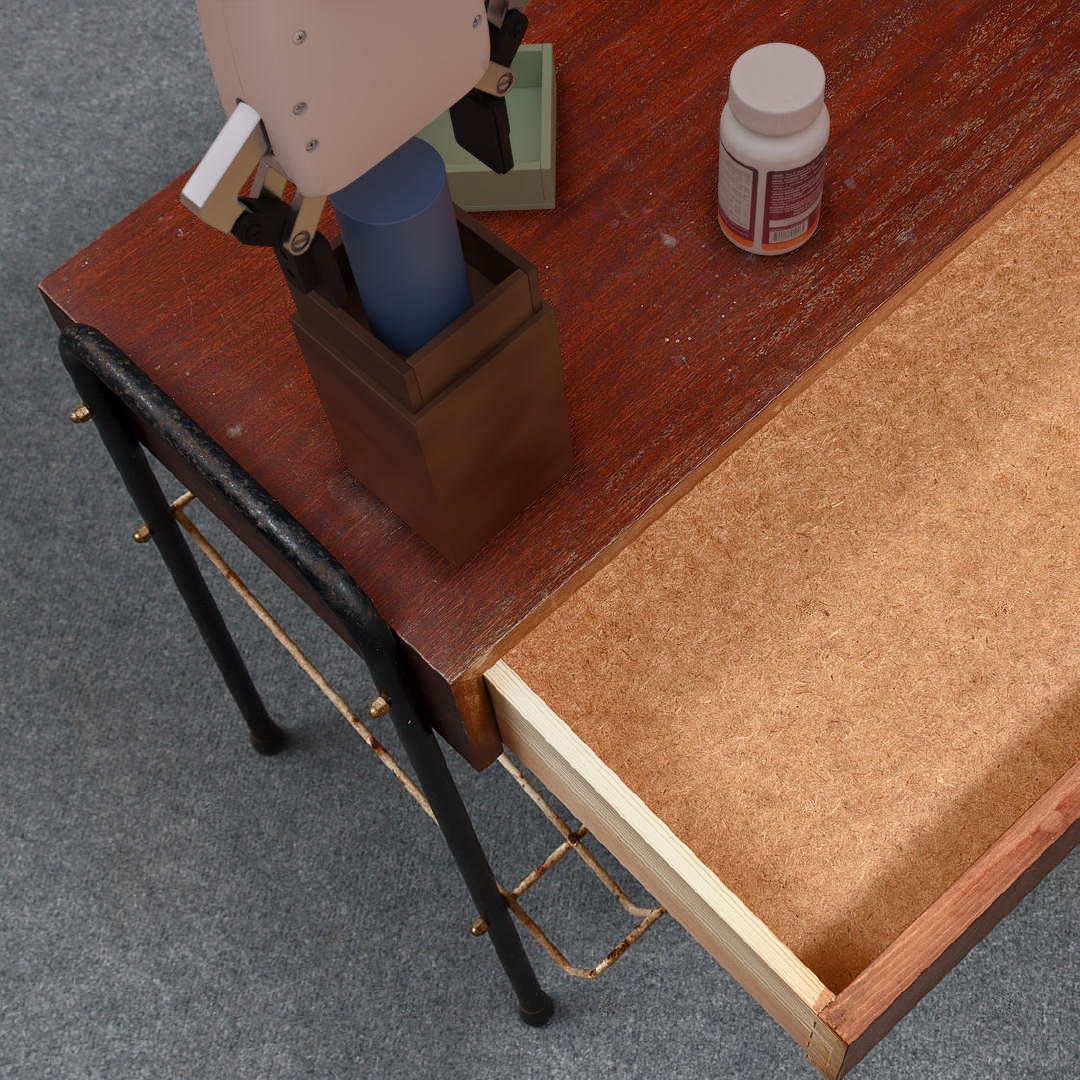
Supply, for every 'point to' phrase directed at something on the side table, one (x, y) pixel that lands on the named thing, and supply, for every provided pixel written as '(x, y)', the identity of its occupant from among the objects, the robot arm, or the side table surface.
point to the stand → (447, 398)
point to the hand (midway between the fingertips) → (404, 220)
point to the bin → (528, 137)
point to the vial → (404, 246)
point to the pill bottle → (773, 149)
